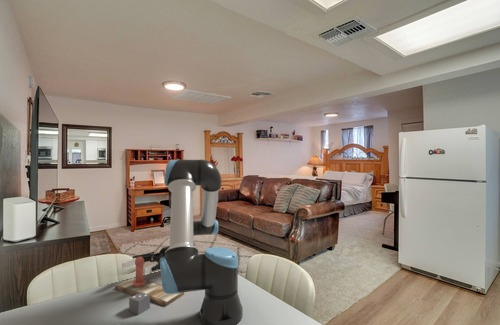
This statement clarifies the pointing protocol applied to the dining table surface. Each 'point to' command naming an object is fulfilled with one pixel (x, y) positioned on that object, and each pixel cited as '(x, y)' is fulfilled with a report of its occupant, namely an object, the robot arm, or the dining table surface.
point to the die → (139, 303)
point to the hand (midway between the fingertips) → (133, 268)
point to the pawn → (139, 273)
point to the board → (149, 291)
